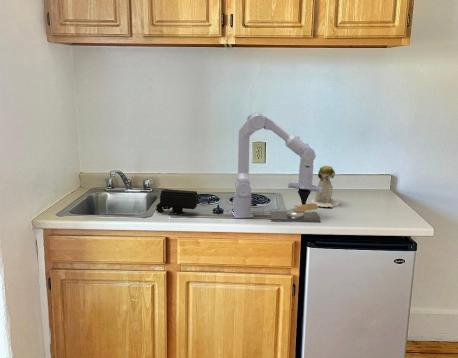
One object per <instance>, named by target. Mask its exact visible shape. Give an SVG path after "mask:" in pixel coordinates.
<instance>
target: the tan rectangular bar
mask: <svg viewBox="0 0 458 358" xmlns="http://www.w3.org/2000/svg"><path fill="white" fill-rule="evenodd" d="M292 209H293V211H294V212H299V211H304V212H306V211H307V212H308V211H313V210H314V211H315V210H318V207H317V204H315V203H312V204H311V203H306V204H304V205H302V204H297V205H294V206H293V208H292Z"/></svg>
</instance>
